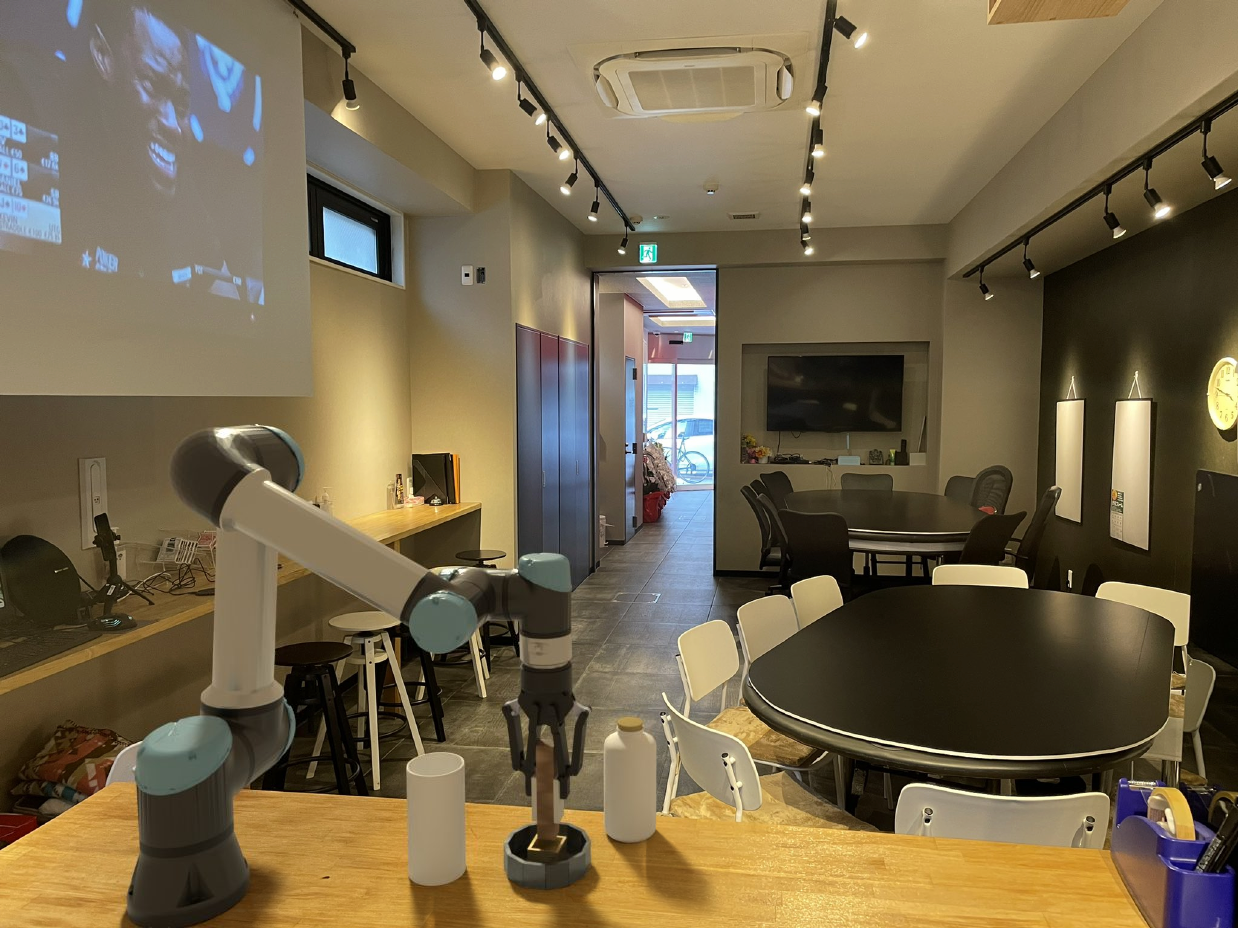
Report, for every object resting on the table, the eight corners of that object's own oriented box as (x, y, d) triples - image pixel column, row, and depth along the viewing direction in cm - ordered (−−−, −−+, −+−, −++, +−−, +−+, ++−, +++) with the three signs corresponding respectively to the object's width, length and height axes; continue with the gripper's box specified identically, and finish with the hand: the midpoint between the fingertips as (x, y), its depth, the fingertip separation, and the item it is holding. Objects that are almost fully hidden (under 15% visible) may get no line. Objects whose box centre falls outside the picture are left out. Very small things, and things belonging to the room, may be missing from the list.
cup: (452, 888, 119) (451, 778, 118) (398, 882, 121) (396, 773, 119) (474, 857, 127) (472, 754, 126) (423, 852, 129) (421, 749, 127)
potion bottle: (665, 827, 136) (666, 718, 134) (638, 851, 129) (639, 736, 127) (621, 814, 140) (621, 708, 139) (593, 835, 133) (593, 724, 132)
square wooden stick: (537, 838, 124) (535, 745, 123) (542, 829, 126) (541, 738, 125) (554, 840, 123) (553, 746, 122) (559, 831, 126) (558, 739, 125)
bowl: (492, 883, 120) (492, 859, 120) (521, 838, 132) (520, 817, 132) (577, 893, 118) (577, 869, 117) (598, 847, 130) (598, 825, 129)
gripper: (485, 665, 121) (488, 824, 122) (592, 672, 117) (593, 835, 119) (503, 650, 128) (506, 800, 130) (604, 656, 125) (605, 810, 126)
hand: (548, 817), depth 124 cm, fingers closed on square wooden stick, 3 cm apart
